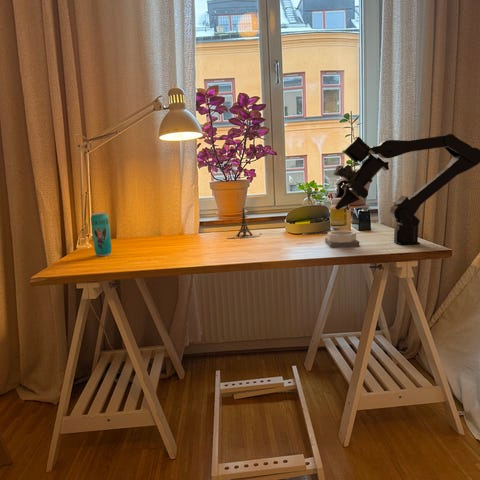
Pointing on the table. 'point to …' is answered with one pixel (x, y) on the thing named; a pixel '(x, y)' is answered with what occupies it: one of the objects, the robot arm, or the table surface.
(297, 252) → the table surface
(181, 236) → the table surface
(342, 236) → the lens mount
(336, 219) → the supplement bottle
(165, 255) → the table surface
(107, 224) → the beverage can
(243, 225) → the eiffel tower figurine
